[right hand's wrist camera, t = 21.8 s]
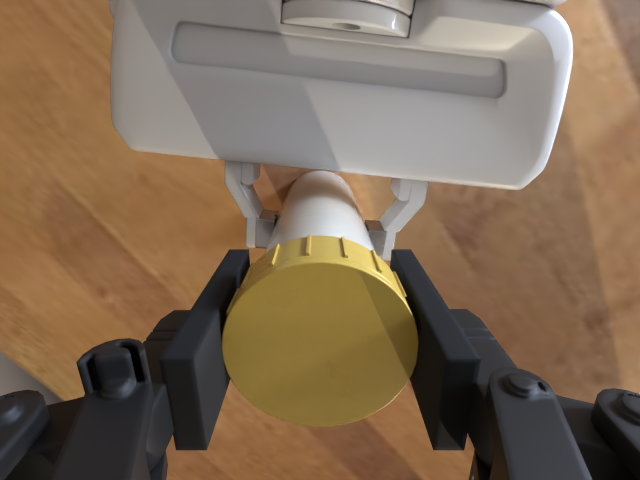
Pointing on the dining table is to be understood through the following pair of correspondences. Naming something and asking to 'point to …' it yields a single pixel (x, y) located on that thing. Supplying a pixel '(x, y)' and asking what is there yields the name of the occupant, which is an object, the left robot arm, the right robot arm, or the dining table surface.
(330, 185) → the jar
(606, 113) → the dining table surface
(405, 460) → the dining table surface
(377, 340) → the lid
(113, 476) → the right robot arm
